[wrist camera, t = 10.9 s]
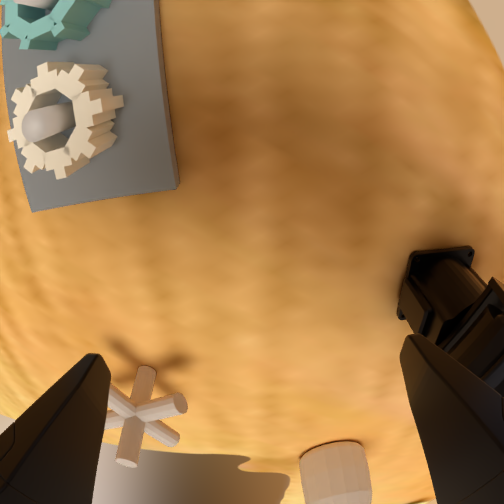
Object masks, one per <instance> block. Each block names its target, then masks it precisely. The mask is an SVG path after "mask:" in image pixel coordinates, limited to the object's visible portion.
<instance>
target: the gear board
mask: <svg viewBox="0 0 504 504" xmlns="http://www.w3.org/2000/svg"><path fill="white" fill-rule="evenodd" d="M13 1H14V2H15V3H18V4H23V5H28V6H33V7H37V8H42V9H45V16H47V15H49V14H50V13H51V12H52V10H53V9H54V7H55V6H56V4H57V3H58V1H59V0H13ZM4 25H5V6H2V27H3V26H4ZM87 29H88V31H89V33H90V34H89V35H88V36H86V37H85V38H84V39H83V40H81V41H79V40H72V39H65V40H63V41H60V42H58V45H57V49H56V50H33V49H19V47H20V43H21V40H20V39H8V38H2V57H3V71H4V82H5V91H6V99H7V107H8V113H9V120H10V126H11V129H13V128H14V124H13V118H15V117H17V115H15V114H14V113H13V112H14V110H15V108H16V105H17V104H16V103H15V102H13V101H12V100H11V98H12V96H13V93H14V91H15V89H16V88H21V87H25V86H26V84H30V83H31V82H30V80H31V79H34V78H36V77H38V73H37V66H39V65H41V64H43V63H45V62H74V64H94V65H101V66H102V67H104V68H105V69H107V70H108V72H107V73H106V75H105V76H104V78H103V80H104V81H106V82H107V83H109V85H108V86H107V88H106V89H109V88H112V93H113V96H119V95H123V102H124V107H120V108H117V109H115V114H116V118H114V119H111V121H112V122H114V123H115V124H114V125H113V127H112V129H111V130H110V131H111V132H112V133H113V134H115V135H116V136H118V137H117V138H116V140H115V142H114V143H113V145H112V146H111V147H109V148H108V149H106V150H104V151H102V152H101V153H99V154H97V155H95V156H94V157H92V158H90V159H89V160H90V163H88V164H86V165H85V166H83V167H82V168H80V169H79V170H77V171H75V172H74V173H72V174H71V175H69V176H68V177H66V178H62V179H57V180H56V176H55V172H54V169H53V170H49V171H46V168H45V169H43V170H41V169H39V170H37V171H35V172H34V173H32V174H31V173H30V172H29V171H28V170H26V169H25V168H24V165H25V162H26V160H27V158H26V157H25V156H23V155H22V154H21V152H22V149H23V147H22V148H19V149H18V145H17V141H16V140H14V146H15V151H16V156H17V160H18V164H19V168H20V172H21V176H22V180H23V184H24V188H25V191H26V195H27V198H28V202H29V205H30V208H31V211H32V212H37V211H42V210H47V209H52V208H58V207H63V206H68V205H74V204H80V203H85V202H91V201H97V200H104V199H110V198H116V197H123V196H130V195H137V194H144V193H151V192H159V191H167V190H175V189H177V187H178V186H179V184H180V180H179V174H178V167H177V161H176V154H175V147H174V140H173V133H172V126H171V119H170V111H169V103H168V95H167V86H166V77H165V68H164V58H163V48H162V37H161V25H160V12H159V0H112V1H111V3H110V6H109V8H100V10H99V11H98V12H97V14H96V15H95V16H94V18H93V19H92V21H91V22H90V23H89V25H88V26H87ZM75 127H76V122H75V116H74V110H73V103H72V100H71V99H69V98H68V97H66V96H65V95H64V94H62V95H61V97H60V98H59V100H58V102H57V104H56V105H51V106H47V107H43V108H39V109H35V110H31V111H29V112H28V113H27V114H26V115H25V116H24V118H23V121H22V133H23V135H24V137H25V138H26V140H28V141H29V142H37V141H40V140H42V139H45V138H47V137H50V136H52V135H55V134H57V133H62V134H63V135H64V136H66V137H67V138H68V139H69V138H70V136H71V134H72V132H73V130H74V129H75Z"/></svg>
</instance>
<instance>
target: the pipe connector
mask: <svg viewBox="0 0 504 504" xmlns="http://www.w3.org/2000/svg"><path fill="white" fill-rule="evenodd" d="M155 377H156V371H155V370H154V369H153V368H151V367H149V366H140V367H139V368H138V371H137V375H136V378H135V382H134V386H133V389H132V393H131V397H130V398H129V397H127V396H126V395H125V394H124V393H122V392H121V391H120V390H119V389H117V388H116V387H115V386H114V385H112V384H111V383H110V389H109V398H108V407H109V408H110V409H112V410H108V411H107V416H106V423H105V428H104V430H106V429H112V428H118V427H123V428H122V433H121V437H120V441H119V445H118V450H117V454H116V459H115V460H116V461H117V462H118V463H119V464H121V465H124V466H127V467H137V466H138V460H139V454H140V449H141V444H142V438H143V433H144V432H145V433H147V434H148V435H150V436H151V437H153V438H155V439H156V440H158V441H160V442H161V443H163V444H164V445H166V446H168V447H173V446H176V444H177V443H178V442H179V439H180V435H179V433H178V432H176V431H175V430H173V429H172V428H170V427H169V426H167V425H166V424H164V423H163V422H162V421H160V420H159V419H164V418H168V417H173V416H177V415H181V414H184V413H186V412H187V409H188V406H187V401H186V399H185V397H184V396H183V395H182V394H181V393H174V394H171V395H167V396H164V397H160V398H157V399H153V400H150V399H151V395H152V390H153V386H154V381H155Z"/></svg>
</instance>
